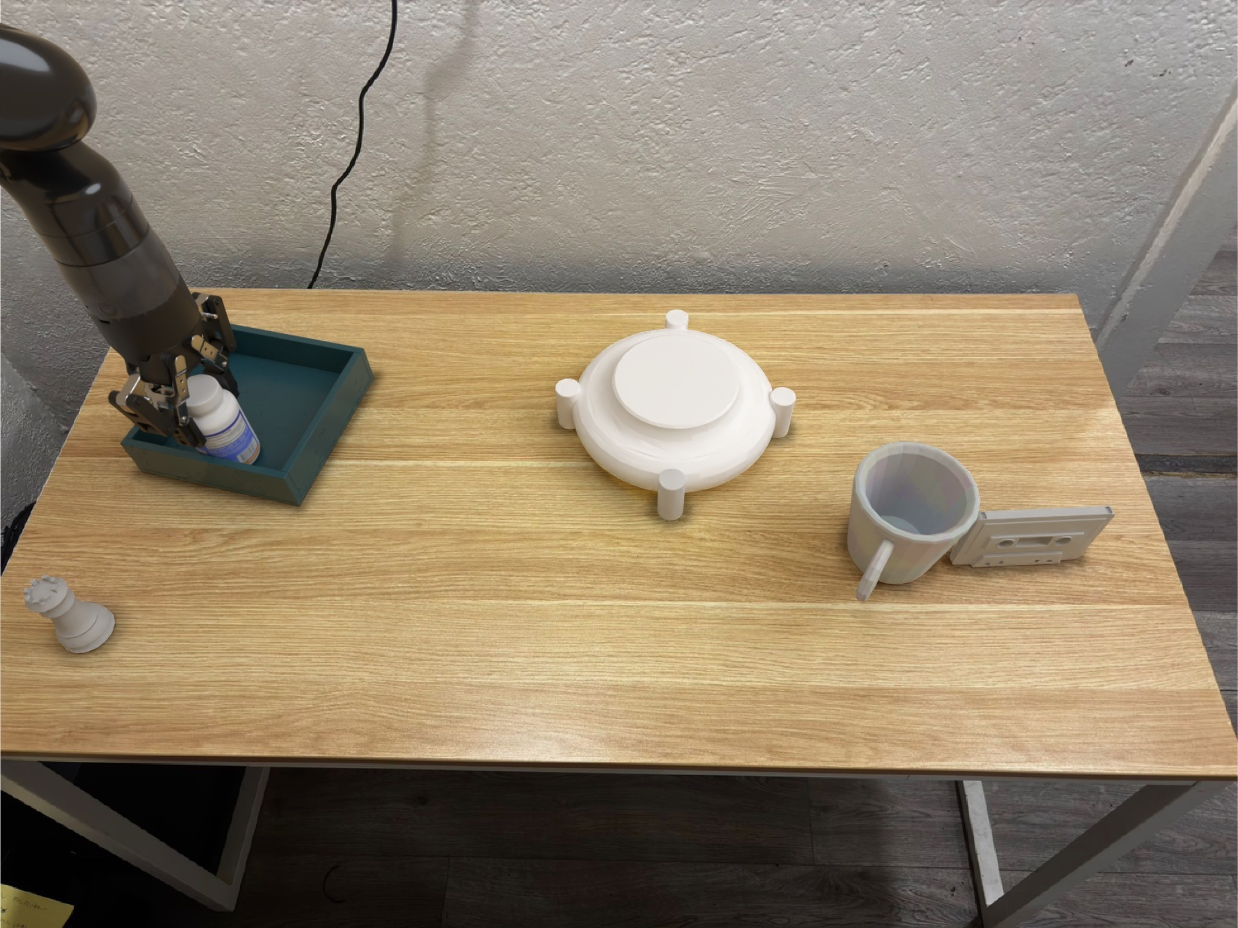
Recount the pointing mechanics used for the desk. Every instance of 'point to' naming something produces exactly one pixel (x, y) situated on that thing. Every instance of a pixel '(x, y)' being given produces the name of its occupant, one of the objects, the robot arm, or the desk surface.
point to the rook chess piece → (70, 614)
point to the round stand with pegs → (674, 411)
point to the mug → (907, 512)
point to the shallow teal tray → (271, 416)
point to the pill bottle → (221, 421)
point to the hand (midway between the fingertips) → (212, 419)
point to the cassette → (1030, 536)
